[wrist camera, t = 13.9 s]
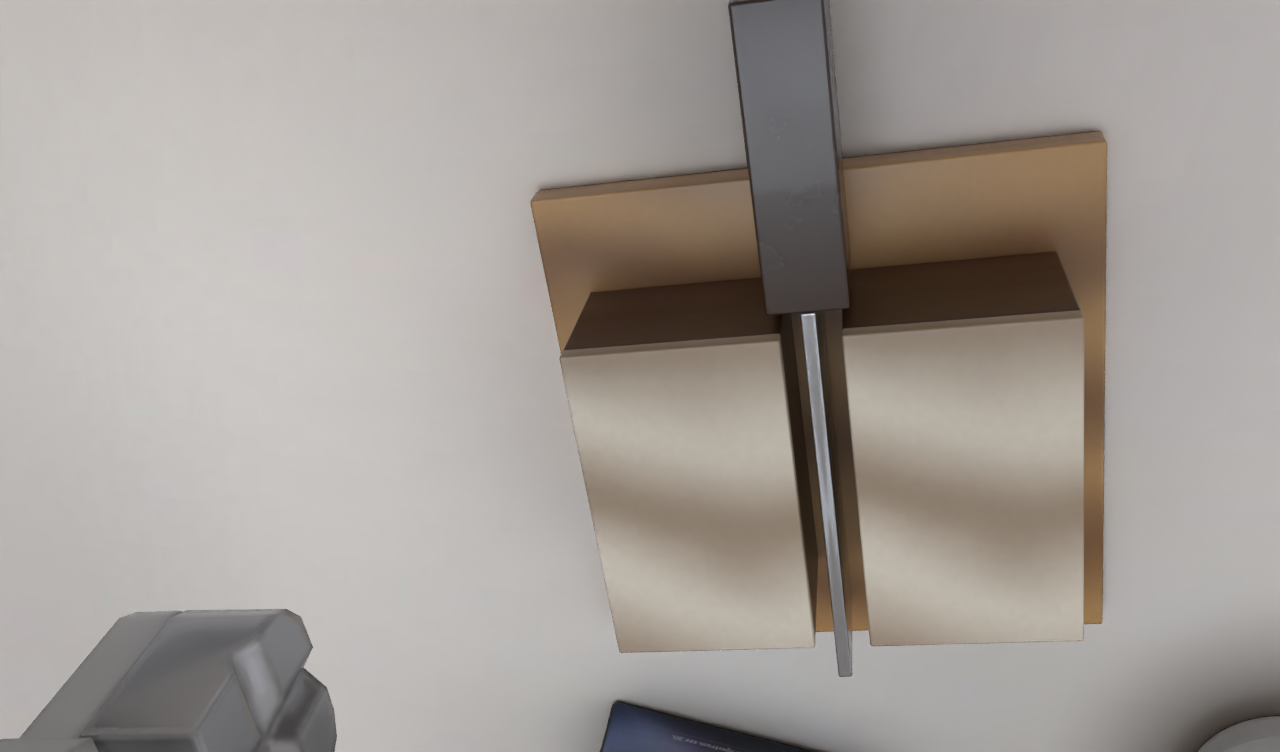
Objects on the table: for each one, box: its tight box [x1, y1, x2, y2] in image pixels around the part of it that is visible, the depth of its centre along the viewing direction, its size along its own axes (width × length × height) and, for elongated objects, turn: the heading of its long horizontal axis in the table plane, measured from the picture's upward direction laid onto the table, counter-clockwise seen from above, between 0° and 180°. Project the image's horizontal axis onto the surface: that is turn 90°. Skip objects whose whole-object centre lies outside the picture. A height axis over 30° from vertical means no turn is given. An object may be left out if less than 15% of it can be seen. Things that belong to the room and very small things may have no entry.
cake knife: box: [728, 0, 852, 677], centre depth 34 cm, size 20×2×4 cm, turn 9°
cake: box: [531, 132, 1107, 653], centre depth 36 cm, size 16×16×6 cm
